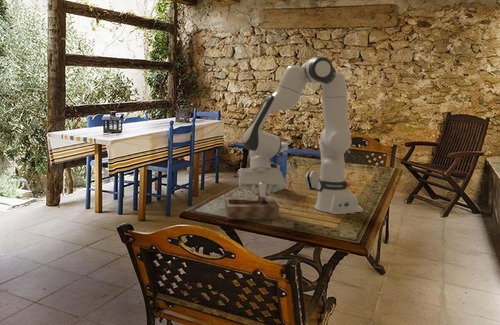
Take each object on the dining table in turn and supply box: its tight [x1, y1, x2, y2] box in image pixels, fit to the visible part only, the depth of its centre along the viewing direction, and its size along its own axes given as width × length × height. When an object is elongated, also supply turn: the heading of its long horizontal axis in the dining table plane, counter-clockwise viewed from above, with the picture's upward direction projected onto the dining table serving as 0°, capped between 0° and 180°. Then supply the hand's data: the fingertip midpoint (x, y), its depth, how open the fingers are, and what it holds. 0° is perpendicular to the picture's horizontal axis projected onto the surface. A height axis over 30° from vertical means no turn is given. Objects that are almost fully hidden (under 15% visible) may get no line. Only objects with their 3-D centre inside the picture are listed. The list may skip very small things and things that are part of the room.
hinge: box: [305, 170, 320, 191], centre depth 248 cm, size 17×5×10 cm, turn 158°
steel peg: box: [257, 182, 267, 204], centre depth 189 cm, size 6×6×12 cm
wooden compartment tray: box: [224, 197, 280, 220], centre depth 189 cm, size 22×14×6 cm, turn 97°
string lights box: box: [266, 141, 289, 194], centre depth 234 cm, size 13×8×26 cm, turn 146°
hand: (262, 194), depth 188 cm, fingers closed on steel peg, 4 cm apart
